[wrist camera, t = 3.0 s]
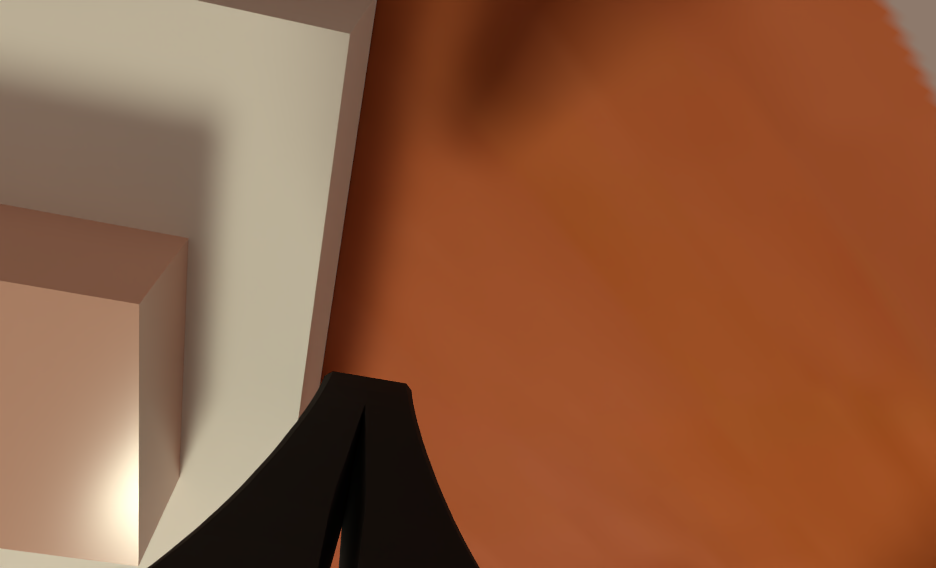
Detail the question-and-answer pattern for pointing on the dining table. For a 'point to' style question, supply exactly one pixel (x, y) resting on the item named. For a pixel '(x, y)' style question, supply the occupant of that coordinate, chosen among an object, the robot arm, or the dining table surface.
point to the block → (88, 383)
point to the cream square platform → (200, 192)
